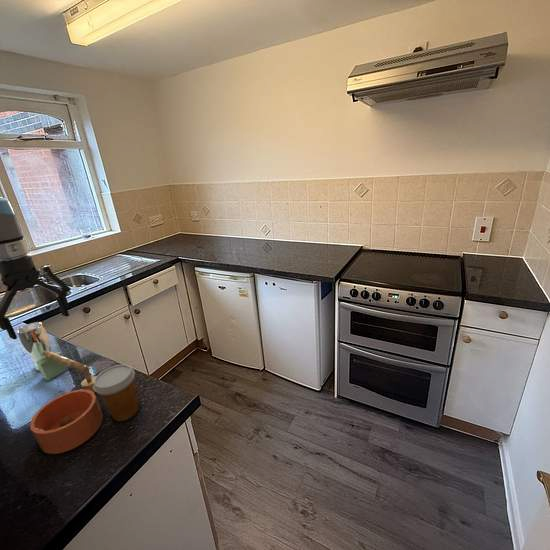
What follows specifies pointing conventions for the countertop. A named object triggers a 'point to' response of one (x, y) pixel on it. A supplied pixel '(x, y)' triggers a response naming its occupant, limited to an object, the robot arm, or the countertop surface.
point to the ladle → (86, 383)
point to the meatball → (66, 421)
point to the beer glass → (34, 340)
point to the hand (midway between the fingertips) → (41, 326)
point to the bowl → (65, 438)
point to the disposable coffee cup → (118, 391)
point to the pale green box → (50, 367)
